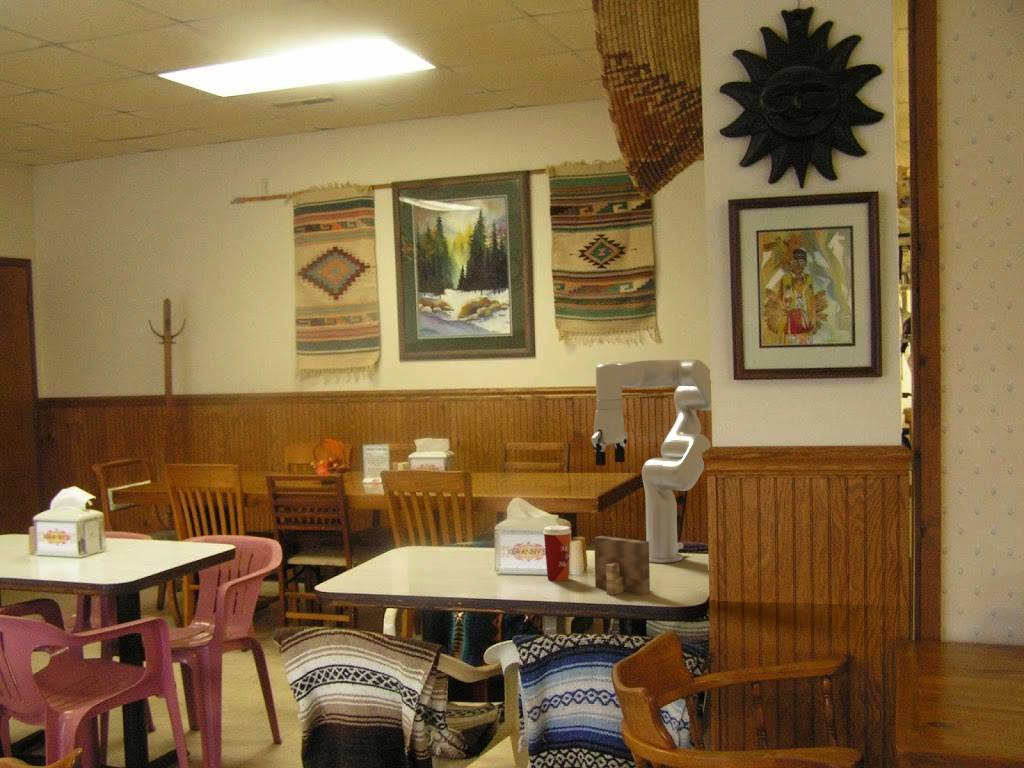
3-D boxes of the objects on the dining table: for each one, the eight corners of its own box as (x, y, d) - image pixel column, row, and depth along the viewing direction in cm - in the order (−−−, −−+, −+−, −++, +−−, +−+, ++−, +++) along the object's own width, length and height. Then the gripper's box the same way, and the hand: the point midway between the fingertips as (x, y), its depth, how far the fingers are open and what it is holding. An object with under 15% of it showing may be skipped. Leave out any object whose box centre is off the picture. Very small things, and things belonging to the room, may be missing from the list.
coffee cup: (570, 582, 300) (569, 530, 300) (541, 582, 302) (540, 529, 301) (574, 576, 308) (573, 525, 308) (546, 575, 310) (545, 524, 309)
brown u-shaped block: (631, 585, 295) (630, 557, 294) (637, 586, 293) (636, 558, 293) (606, 594, 285) (606, 564, 285) (612, 595, 284) (612, 565, 284)
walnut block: (595, 587, 294) (594, 537, 293) (601, 585, 296) (600, 535, 295) (643, 595, 283) (642, 543, 283) (649, 593, 286) (648, 541, 285)
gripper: (615, 403, 319) (616, 460, 320) (581, 407, 306) (582, 466, 307) (636, 404, 314) (637, 461, 315) (602, 407, 301) (603, 467, 302)
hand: (610, 463), depth 311 cm, fingers open, 9 cm apart
